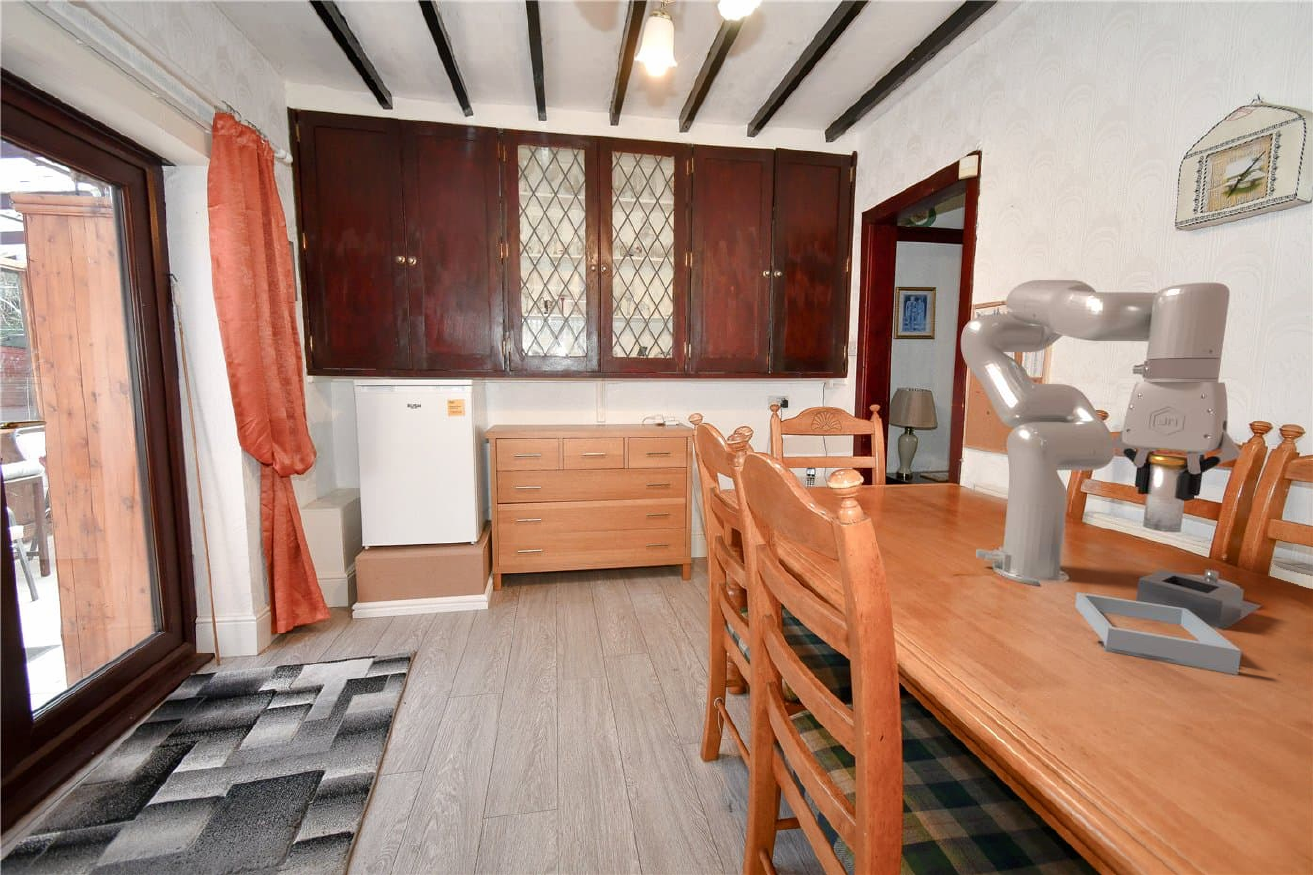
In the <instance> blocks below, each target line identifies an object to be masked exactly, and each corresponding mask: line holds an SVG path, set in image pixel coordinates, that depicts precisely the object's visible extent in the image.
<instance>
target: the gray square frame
mask: <svg viewBox="0 0 1313 875" xmlns="http://www.w3.org/2000/svg"><path fill="white" fill-rule="evenodd" d="M1074 607H1075V608H1076V609H1077V611H1078V612H1079V613H1080V614H1081V615H1082V617H1083V618H1084V619H1085V620H1086V621H1087V623H1088V625H1090V627H1091V628H1092V629H1093V630H1094V631H1095V632H1096V634H1097V635H1098V636H1099V637H1100V639H1101V640H1102V641H1101V640H1097V642H1098V643H1099V644H1100V646H1101V647H1102V648H1103V649H1104V651H1105V652H1111V653H1116V654H1120V655H1127V656H1132V657H1138V658H1143V659H1148V660H1154V661H1159V662H1166V663H1170V664H1175V665H1181V666H1186V667H1190V668H1191V667H1192V668H1198V669H1203V670H1209V671H1212V672H1213V671H1214V672H1220V673H1224V674H1230V675H1236V676H1238V675H1239V668H1240V663H1241V655H1242V650H1241V648H1239V647H1237V646H1236V644H1235V645H1234V644H1233V643H1232V642H1231V641H1230V640H1228V638H1226V637H1224V636H1223V635H1221V634H1220V632H1218V631H1217V630H1215V628H1213V627H1210V626H1209V625H1207V624H1206V623H1205V622H1203V621H1202V620H1201V619H1200V618H1198V617H1197V616H1196V615H1194V614H1193V613H1192V612H1190V611H1189V610H1188V609H1186V608H1179V607H1173V606H1166V605H1159V604H1152V603H1146V602H1139V601H1136V600H1131V599H1124V598H1117V597H1111V596H1110V597H1109V596H1104V595H1097V594H1091V593H1085V592H1078V591H1077V592H1076V597H1075V605H1074ZM1102 613H1104V614H1109V615H1116V616H1123V617H1128V618H1136V619H1142V620H1147V621H1154V622H1161V623H1166V624H1174V625H1180V626H1182V628H1184V630H1186V631H1187V632H1188V633H1190V635H1192V636H1193V637H1194V638H1196V639H1197V640H1193V639H1188V638H1187V639H1186V638H1181V637H1175V636H1169V635H1163V634H1157V633H1150V632H1144V631H1138V630H1132V629H1126V628H1122V627H1120V628H1119V627H1115V626H1113V625H1112V624H1111V623H1110V622H1109V621H1108V619H1107V618H1106V617H1105V616H1104V615H1103V614H1102Z"/></svg>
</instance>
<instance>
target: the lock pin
mask: <svg viewBox="0 0 1313 875" xmlns="http://www.w3.org/2000/svg"><path fill="white" fill-rule="evenodd" d="M1148 463H1150V471H1149V479H1148V487H1147V494H1146V497H1145V506H1144V511H1143V512H1144V513H1143V520H1142V526H1143V527H1144V528H1146V529H1149V530H1152V531H1159V532H1166V533H1180V532H1181V530H1182V523H1183V516H1184V507H1185V501H1183V500H1181V499H1180V498H1179V497H1180V490H1181V482H1182V475H1183V474H1184V473H1186V472H1187V469H1188V463H1187V456H1186V455H1180V454H1171V453H1170V454H1168V453H1155V454H1149V456H1148Z"/></svg>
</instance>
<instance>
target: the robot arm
mask: <svg viewBox="0 0 1313 875" xmlns="http://www.w3.org/2000/svg"><path fill="white" fill-rule="evenodd" d="M1230 297H1231V296H1230V289H1229V287H1228V286H1227V285H1225V284H1224V283H1221V282H1220V283H1219V282H1192V283H1184V284H1176V285H1173V286H1172V285H1171V286H1167V287H1164V288H1162V289H1160V290H1158V291H1157V292H1141V291H1140V292H1139V291H1135V292H1133V291H1132V292H1131V291H1122V292H1121V291H1119V292H1116V291H1115V292H1106V291H1105V292H1103V291H1102V292H1100V291H1099V292H1098V291H1096V290H1095V288H1093V287H1092V286H1091V285H1089V284H1087V283H1085V282H1084V281H1081V280H1077V279H1075V280H1074V279H1037V280H1035V279H1034V280H1033V279H1032V280H1028V281H1025V282H1023V283H1020V284H1019V285H1017V286H1015V287H1014V288H1013V289H1012V290H1010V291H1009V294H1008V295H1007V297H1006V300H1005V308H1006V311H1007V312H1008V313H995V314H994V313H993V314H984V315H981V316H977V317H975V318H973V319H970V320H969V321H968V322H967V323H966V324H965V326H964V327H963V330H962V333H961V336H960V350H961V354H962V358H963V360H964V363H965V364H966V366H967V367H968V369H969V371H970V372H971V374H972V375H973V376H974V377H975V378H976V379H977V380H978V382H979V383H980V385H981V386H982V388H983V391H984V392H985V395H986V396H987V397H988V401H989V402H990V404H991V406H992V407H993V409H994V411H995V413H996V415H997V417H998V418H999V420H1000V421H1001V422H1002V423H1003V424H1004V425H1005V426H1008V427H1010V428H1013V429H1012V430H1011V431H1010V432H1009V434H1008V437H1007V440H1006V453H1007V459H1008V460H1007V461H1008V471H1009V472H1008V492H1007V503H1006V504H1007V506H1006V515H1005V526H1004V527H1005V528H1004V537H1003V538H1004V539H1003V546H999V549H994V550H987V549H983V548H976V549H975V550H976V551H975V557H976V559H982V560H983V559H984V562H989V563H992V570H993V571H994V572H995V573H996V574H998V575H999V574H1000V575H999V576H1001V575H1002V576H1001V577H1003V576H1004V578H1006V579H1009V580H1011V581H1015V582H1018V583H1021V584H1026V585H1031V586H1036V587H1037V586H1038V587H1042V585H1041V584H1040V582H1043V583H1063V582H1067V581H1068V580H1069V579H1070V577H1069V575H1068V574H1067V573H1066V572H1063V571H1062V570H1061V564H1062V555H1063V542H1064V534H1065V526H1066V525H1065V523H1066V516H1067V508H1068V507H1067V505H1068V491H1067V488H1066V485H1065V484H1064V482H1063V480H1062V478H1061V476H1060V475H1059V472H1058V471H1094V470H1095V471H1096V470H1100V469H1103V468H1105V467H1107V466H1108V465H1109V464H1111V462H1112V461H1113V459H1114V457H1115V454H1116V450H1117V451H1118V452H1120V453H1123V455H1124V456H1125V457H1126V458H1127V459H1128V460H1129V461H1130V462H1132V464H1133V466H1134V467H1136V474H1135V479H1134V480H1135V482H1134V487H1135V488H1137V494H1138V495H1147V487H1148V479H1149V471H1150V463H1148V456H1149V454H1156V452H1157V450H1161V451H1169V452H1170V451H1171V452H1180V453H1185V454H1186V455H1185V456H1187V463H1188V469H1187V472H1186V473H1184V474H1183V475H1182V482H1181V490H1180V497H1179V498H1180V499H1181V500H1183V501H1184V502H1188V501H1189V502H1190V501H1192V500H1194V499H1195V496H1196V497H1197V496H1198V497H1199V496H1200V492H1201V487H1202V480H1203V479H1202V478H1203V474H1204V473H1206V472H1207V471H1209V470H1211V469H1212V468H1215V467H1217V466H1219V465H1220V464H1224V463H1226V462H1229V461H1232V460H1237V459H1238V458H1241V457H1242V456H1243V454H1244V453H1243V451H1242V450H1241V449H1240V447H1238V445H1237V444H1236V443H1235V442H1234V440H1233V439H1232V437H1231V436H1230V434H1229V433H1228V421H1229V420H1228V417H1229V416H1228V412H1229V411H1228V395H1227V388H1226V384H1225V382H1219V378H1220V371H1221V363H1222V355H1223V348H1224V340H1225V333H1226V323H1227V317H1228V310H1229V304H1230ZM1063 336H1065V337H1069V338H1073V339H1076V340H1077V339H1078V340H1082V341H1083V340H1084V341H1090V342H1148V344H1147V350H1146V351H1147V352H1146V360H1144V362H1143V364H1142V363H1141V364H1138V365H1136V364H1135V365H1134V366H1133V367H1132V374H1133V375H1140V376H1141V377H1142V378H1143V381H1136V382H1135V384H1134V387H1133V389H1132V392H1131V395H1130V398H1129V401H1128V405H1127V409H1126V413H1125V416H1124V420H1123V421H1124V422H1123V427H1122V430H1121V432H1119V433H1118V434H1117V435H1116V436H1115V438H1114V436H1113V435H1112V432H1111V431H1110V429H1109V427H1108V426H1107V425H1106V423H1105V421H1104V420H1103V418H1102V417H1101V416H1100V415H1099V413H1098V411H1097V410H1096V409H1095V408H1094V406H1093V404H1092V403H1091V401H1090V400H1089V399H1088V397H1087V396H1086V395H1085V394H1084V392H1082V391H1081V390H1080V389H1078V388H1077V387H1075V386H1072V385H1069V384H1062V383H1041V382H1037V381H1035V380H1033V379H1032V378H1031V376H1030V375H1029V374H1028V372H1027V371H1026V369H1025V367H1024V366H1023V365H1022V364H1021V363H1020V362H1019V361H1018V360H1016V359H1014V358H1013V357H1011V356H1009V355H1008V354H1006V353H1036V352H1040V351H1043V350H1045V349H1047V348H1049V347H1050V346H1051V345H1053V344H1054V343H1056V342H1057V340H1060V338H1062V337H1063ZM1220 450H1221V452H1219V453H1217V454H1214V455H1210V456H1208V457H1207V456H1206V455H1207V454H1206V453H1210V452H1217V451H1220Z"/></svg>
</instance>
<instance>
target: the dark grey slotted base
mask: <svg viewBox="0 0 1313 875" xmlns="http://www.w3.org/2000/svg"><path fill="white" fill-rule="evenodd" d="M1219 574H1220V572H1219V571H1216V570H1213V569H1205V573H1204V575H1199V574H1185V573H1184V574H1182V573H1179V572H1175V571H1172V570H1166V569H1163V568H1162V569H1160V570H1158V571H1155V572H1152V573H1150V574H1148V575H1146V576H1142V577H1140V578H1139V579H1138V583H1137V591H1136V599H1135V601H1139V602H1146V603H1152V604H1159V605H1166V606H1173V607H1179V608H1186V609H1188V610H1189V611H1190V612H1192V613H1193V614H1194V615H1196V616H1197V617H1198V618H1200V619H1201V620H1202V621H1203V622H1205V623H1206V624H1207V625H1209V626H1210V627H1211V628H1213V629H1217V630H1220V631H1224V630H1226V629H1228V628H1229V627H1231V626H1233V625H1235V624H1236V623H1237V622H1239V621H1240V620H1242V619H1244V618H1245V617H1247V616H1249V615H1250V614H1251V613H1253V612H1255V611H1256V610H1258V609H1260V608H1262V605H1261V604H1257V603H1253V602H1249V601H1246V600H1243V599H1244V592H1245V589H1243V588H1241V587H1240V586H1239V585H1237V584H1236V583H1233V582H1230V581H1228V580H1224V579H1221V578H1219V576H1220V575H1219Z"/></svg>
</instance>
